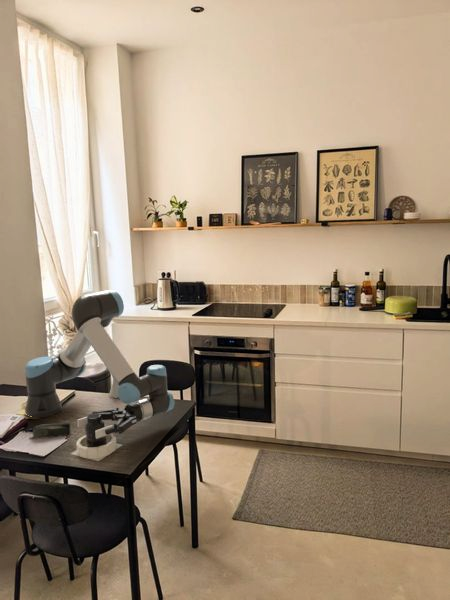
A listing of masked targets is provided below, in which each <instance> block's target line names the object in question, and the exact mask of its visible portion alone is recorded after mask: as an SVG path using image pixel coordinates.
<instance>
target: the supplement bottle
mask: <svg viewBox="0 0 450 600" xmlns="http://www.w3.org/2000/svg"><path fill="white" fill-rule="evenodd" d="M86 417H87V422H88V423H87V424H86V425H84V428H85V435H86V439H87V447H88V448H89V447H99V446H103V445H106V444H107V442H106V436H103V437H100V438H98V439H96V435H95V431H96V430H99V429H101V428H104V427H106V424H105V422H104V420H102V418H101V414H99V413H94V414H92V413H91V414H88V415H87V416H86Z"/></svg>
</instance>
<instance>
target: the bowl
mask: <svg viewBox="0 0 450 600" xmlns="http://www.w3.org/2000/svg"><path fill="white" fill-rule="evenodd" d="M114 434H115V433H111V434H109V435H106V442H107V444H106V445H103V446H99V447H89V448H88V447H87V439H86V434H85V435H82V437H80V438H78V439H77V442H76V443H75V444H76V450H77V453H78V455H79V456H78V457H80V458H84V459H89V460H91V459H90V458H100V457H103V456H106V457H107V456H109V455H111V454H112V453H113V452H115V451H116V450H117V449H116V443H117V436H115V435H114ZM115 449H116V450H115Z"/></svg>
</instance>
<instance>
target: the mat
mask: <svg viewBox="0 0 450 600" xmlns="http://www.w3.org/2000/svg"><path fill="white" fill-rule="evenodd" d="M122 446H123V444H121V443H118V442H116V449H115V451H116V450H117V449H119V448H121V447H122ZM70 455H73V456H77V457H80V456H79V455H78V453H77V449H76V450H74V451H72V452H71V453H70ZM105 457H107V456H103V457H100V458H90V459H89V460H92V461H97V462H100V461H101V460H103V459H104V458H105Z"/></svg>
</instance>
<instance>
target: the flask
mask: <svg viewBox="0 0 450 600" xmlns="http://www.w3.org/2000/svg"><path fill="white" fill-rule="evenodd" d="M111 377H112V384H111V388H110V391H109V394H108V396H109V397H110V398H113V399H119V397H118V396H119V395H118V394H117V390H118V387H119V385H118V383H117V382H116V381H115V379H114V378H113V376H112V375H111Z"/></svg>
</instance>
